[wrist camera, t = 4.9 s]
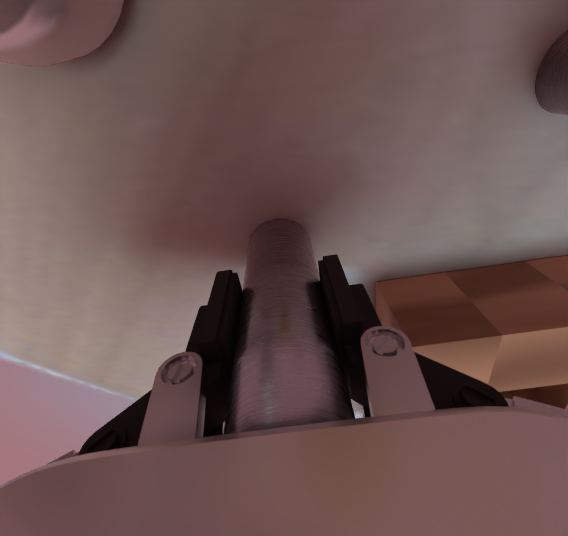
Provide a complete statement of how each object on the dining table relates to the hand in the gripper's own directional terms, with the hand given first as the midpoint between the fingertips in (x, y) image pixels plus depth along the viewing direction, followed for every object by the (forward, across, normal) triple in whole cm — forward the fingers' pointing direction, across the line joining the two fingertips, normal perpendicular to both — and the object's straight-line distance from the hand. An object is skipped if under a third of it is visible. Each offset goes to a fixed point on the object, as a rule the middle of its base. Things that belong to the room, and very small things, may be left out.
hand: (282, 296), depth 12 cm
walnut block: (+4, -11, +9) cm, 15 cm away
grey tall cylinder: (+4, 0, 0) cm, 4 cm away
